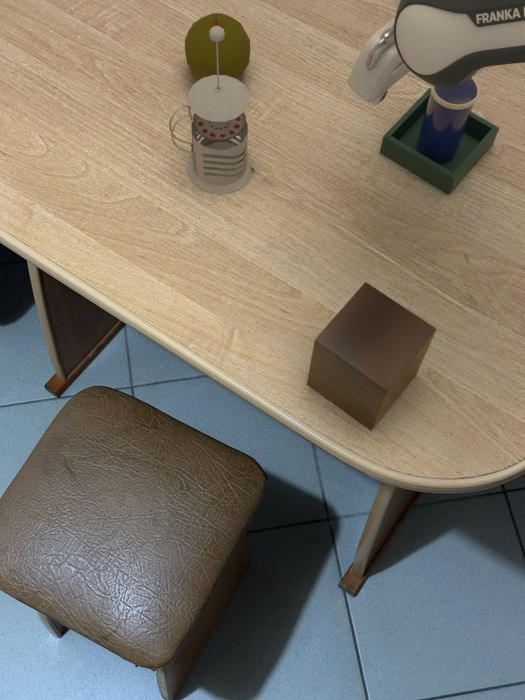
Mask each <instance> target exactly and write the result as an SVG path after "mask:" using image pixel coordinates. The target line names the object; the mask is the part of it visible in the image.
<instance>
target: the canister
mask: <svg viewBox="0 0 525 700" xmlns="http://www.w3.org/2000/svg"><path fill="white" fill-rule="evenodd" d="M479 92H480V89H479V85H478V83H477V82H476V80H475V79H474V78H473V77H472V78H470V79H469V80H467V81H465V82H463V83H461V84H459V85H457V86H455V87H453V88H451V89H441V88H438V87H436V86H433V85H431V94H430V97H429V101H428V104H427V108H426V111H425V115H424V119H423V122H422V126H421V129H420V133H419V136H418V140H417V143H416V150H417V152H419V153H421V154H422V155H424V156H426V157H427V158H429V159H431V160H432V161H434V162H436V163H437V164H445V163H448V162H450V161H452V160H453V159H454V158H455V156H456V154H457V151H458V148H459V145H460V143H461V140H462V137H463V134H464V131H465V128H466V126H467V123H468V120H469V117H470V114H471V112H473V109H474V106H475V103H476V102H477V99H478V96H479Z"/></svg>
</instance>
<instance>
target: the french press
mask: <svg viewBox="0 0 525 700" xmlns="http://www.w3.org/2000/svg"><path fill="white" fill-rule="evenodd" d="M224 38H225V33H224V29H223V28H221V27H219V26H214V27H212V28H211V29H210V39H211V40H212V41H216V51H217V75H212V76H208V77H205V78H202V79H200V80H199V81H198V80H196V82H194V83H193V84H192V86H191V87H190V89H189V90H188V92H187V103H188V104H184V105H182V106H180V107H179V108H177V109H175V111H174V112H173V113H172V115H171V117H170V118H169V121H168V128H169V132H170V136H171V141H172V144H173V145H174V146H175V147H176V148H177V149H178V150H179V151H182V152H185V153H188V154H189V153H190V156H189V157H188V159H187V161H186V173H187V175H188V178H189V179H190V181H191V183H193V184H194V185H195V186H196V187H197V188H199V190H200V191H201V190H202V191H204V192H207V193H210V194H213V195H228V194H231V193H234V192H237V191H240V190H241V189H243V188H244V187H245V186H246V185H248V184H249V183H250V181H251V180H252V178H253V176H254V173H255V168H254V167H252V166H251V165H249V164H248V159H249V158H250V157H251V154H250V152H249V151H248V149H249V126H248V122H247V116H246V114H245V112H246V110H247V108H248V106H249V105H250V92H249V89H248V88H247V86H246V85H245V84H244V83H243V82H241V81H240V79H239V80H237V79H235V78H232V77H229V76H226V75H219V66H218V42H219V41H222V40H223V39H224ZM185 108H187V109H188V114H185V115H182V116H181V117H179V118H178V119H177V121H176V122H175V123H174V124H173V126H172V123H173V119H174V117H175V115H176V114H177V113H178V112H179V111H180V110H182V109H185ZM192 112H193V115H192ZM187 117H189V120H190V121H191V142H190V141H187V140H183V139H180V138H178V137H177V136H176V134H174V132H175V128H176V126H177V125H178V124H179V123H180V121H182V120H184V119H186V118H187ZM174 139H175V140H176V141H178V142H180V143H184V144H188V145H190V150H188V149H184V148H182V147H180V146H179V145H178V144H177V142H176V141H175V140H174ZM233 140H234V141H233ZM235 141H236V142H235ZM237 142H238V143H237Z"/></svg>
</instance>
